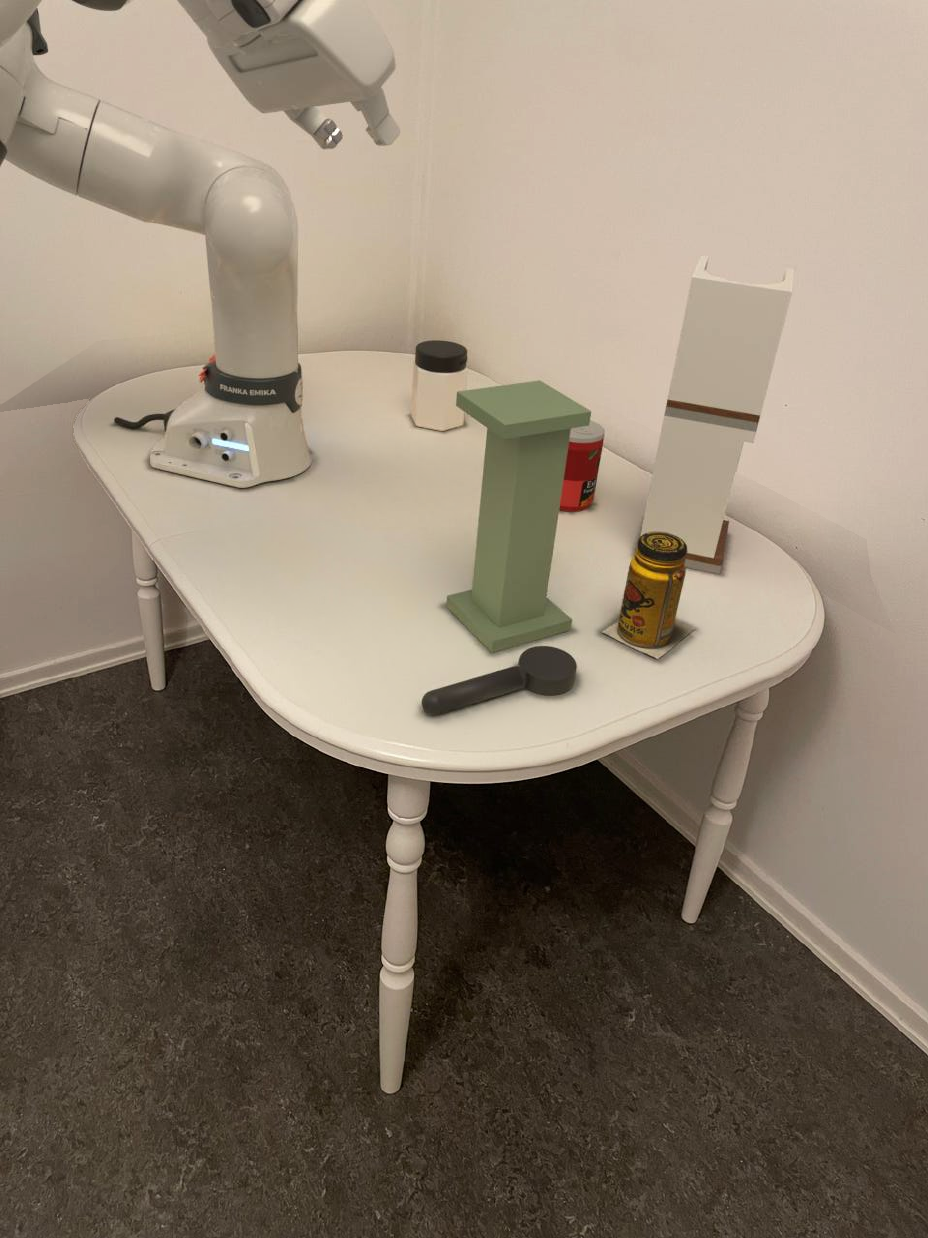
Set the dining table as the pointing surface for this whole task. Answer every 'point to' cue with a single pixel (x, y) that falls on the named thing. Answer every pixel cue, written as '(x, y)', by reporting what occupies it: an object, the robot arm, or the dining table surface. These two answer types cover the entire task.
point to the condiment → (653, 596)
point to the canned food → (582, 467)
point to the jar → (438, 384)
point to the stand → (517, 512)
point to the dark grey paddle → (509, 680)
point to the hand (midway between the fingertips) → (361, 142)
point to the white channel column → (713, 407)
